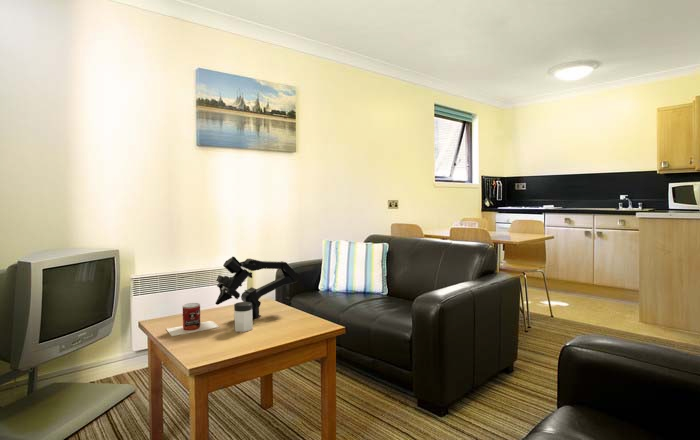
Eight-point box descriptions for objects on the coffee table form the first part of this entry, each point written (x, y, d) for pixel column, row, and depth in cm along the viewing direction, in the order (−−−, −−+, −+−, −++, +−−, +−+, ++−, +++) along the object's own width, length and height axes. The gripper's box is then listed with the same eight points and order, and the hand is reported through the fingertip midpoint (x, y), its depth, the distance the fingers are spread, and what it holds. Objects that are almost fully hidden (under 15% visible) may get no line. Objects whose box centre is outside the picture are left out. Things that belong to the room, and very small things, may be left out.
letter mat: (211, 321, 193) (211, 320, 193) (219, 327, 183) (219, 326, 183) (166, 329, 180) (166, 328, 180) (171, 336, 170) (171, 335, 170)
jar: (253, 331, 177) (253, 305, 177) (235, 333, 175) (234, 306, 174) (251, 325, 186) (251, 300, 185) (234, 327, 183) (233, 302, 183)
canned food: (183, 331, 176) (183, 307, 175) (182, 326, 183) (181, 303, 183) (201, 329, 179) (201, 305, 179) (199, 324, 186) (199, 302, 186)
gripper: (220, 266, 198) (198, 290, 192) (233, 271, 183) (209, 298, 177) (235, 280, 203) (214, 304, 197) (249, 286, 188) (227, 312, 182)
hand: (216, 304), depth 188 cm, fingers closed
